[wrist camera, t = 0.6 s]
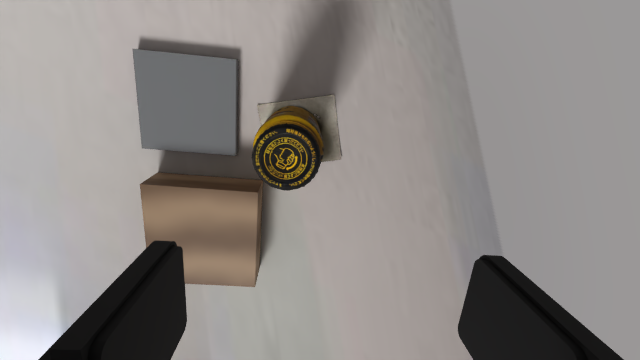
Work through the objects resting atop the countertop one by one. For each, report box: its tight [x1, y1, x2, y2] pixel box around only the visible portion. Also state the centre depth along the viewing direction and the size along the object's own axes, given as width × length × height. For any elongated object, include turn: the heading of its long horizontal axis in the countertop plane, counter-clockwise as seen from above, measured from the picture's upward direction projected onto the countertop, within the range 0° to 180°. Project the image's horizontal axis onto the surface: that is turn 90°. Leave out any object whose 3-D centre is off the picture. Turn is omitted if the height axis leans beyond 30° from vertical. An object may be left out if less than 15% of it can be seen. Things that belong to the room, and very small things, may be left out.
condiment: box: [252, 95, 341, 190], centre depth 29 cm, size 7×8×12 cm
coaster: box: [133, 49, 238, 156], centre depth 32 cm, size 10×10×1 cm
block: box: [140, 172, 263, 287], centre depth 35 cm, size 12×12×4 cm
